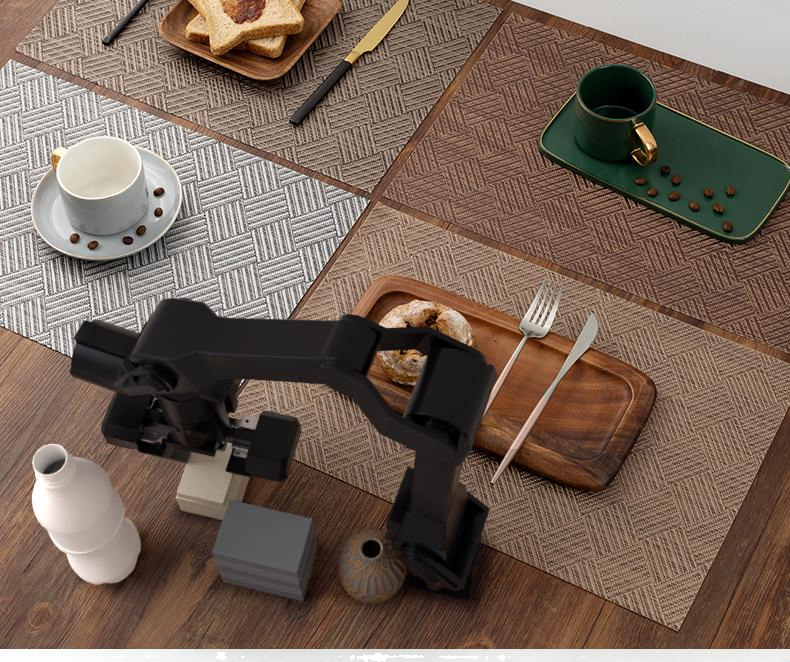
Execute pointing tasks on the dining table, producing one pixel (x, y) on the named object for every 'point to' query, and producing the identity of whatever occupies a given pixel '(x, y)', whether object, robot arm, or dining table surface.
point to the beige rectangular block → (212, 510)
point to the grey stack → (266, 550)
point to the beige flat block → (207, 478)
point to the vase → (370, 567)
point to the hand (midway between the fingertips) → (213, 464)
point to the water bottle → (84, 515)
